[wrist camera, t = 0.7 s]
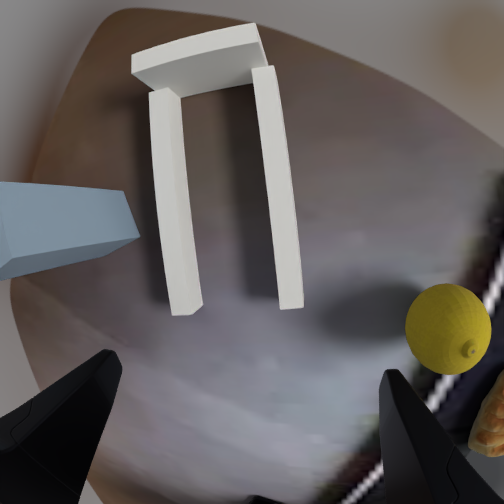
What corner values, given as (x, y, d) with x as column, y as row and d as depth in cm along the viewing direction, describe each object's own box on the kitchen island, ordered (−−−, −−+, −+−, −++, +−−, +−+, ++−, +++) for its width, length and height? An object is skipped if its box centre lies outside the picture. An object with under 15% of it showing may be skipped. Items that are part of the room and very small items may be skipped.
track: (303, 297, 23) (302, 325, 17) (184, 305, 24) (150, 331, 18) (274, 62, 21) (263, 21, 15) (162, 86, 23) (125, 57, 17)
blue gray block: (140, 236, 24) (12, 258, 12) (104, 256, 25) (-21, 285, 12) (123, 191, 24) (-7, 181, 11) (88, 212, 25) (-38, 218, 12)
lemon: (390, 347, 22) (421, 401, 14) (395, 275, 22) (436, 305, 14) (453, 341, 21) (499, 387, 13) (460, 272, 21) (518, 297, 13)
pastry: (486, 363, 21) (506, 381, 17) (536, 352, 20) (558, 366, 16) (461, 445, 22) (474, 468, 18) (511, 431, 21) (526, 450, 17)
